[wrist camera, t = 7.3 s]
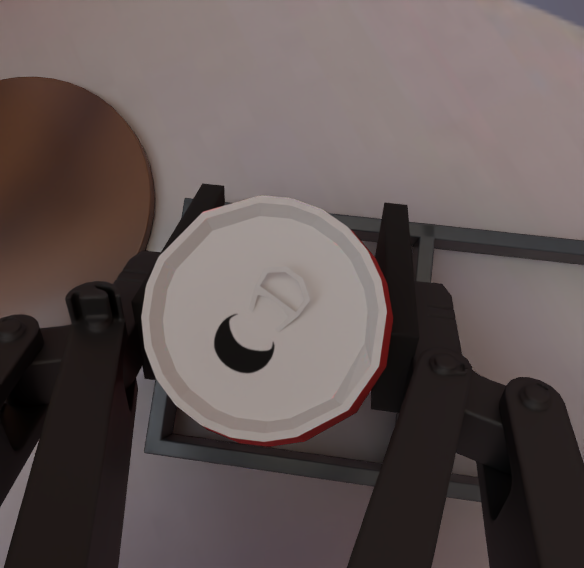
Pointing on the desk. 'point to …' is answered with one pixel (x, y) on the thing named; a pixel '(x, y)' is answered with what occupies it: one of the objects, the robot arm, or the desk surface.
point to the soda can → (267, 321)
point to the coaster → (66, 195)
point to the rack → (367, 472)
